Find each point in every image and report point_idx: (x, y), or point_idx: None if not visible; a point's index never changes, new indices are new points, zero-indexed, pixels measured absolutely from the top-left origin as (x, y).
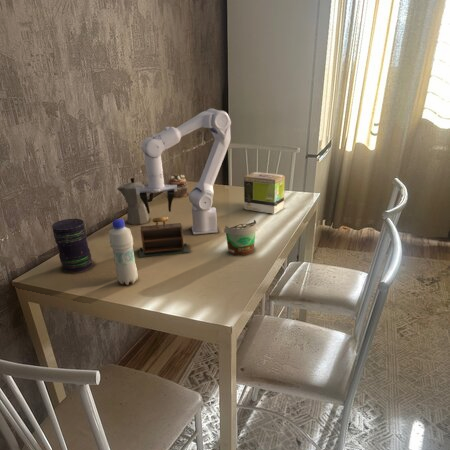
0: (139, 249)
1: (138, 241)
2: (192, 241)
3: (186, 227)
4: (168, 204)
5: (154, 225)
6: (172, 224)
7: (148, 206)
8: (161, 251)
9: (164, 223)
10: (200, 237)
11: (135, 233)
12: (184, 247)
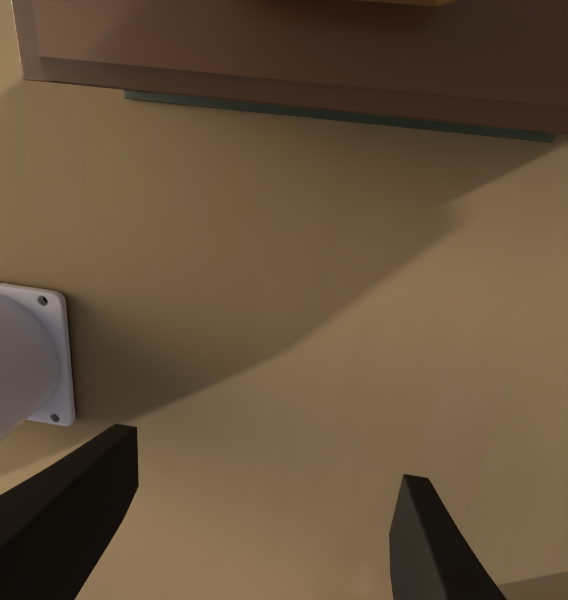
0: (552, 138)
1: (502, 334)
2: (80, 169)
3: None
4: (81, 522)
5: (412, 99)
6: (136, 30)
7: (419, 576)
8: None
9: None
10: (19, 227)
11: (480, 486)
12: None
